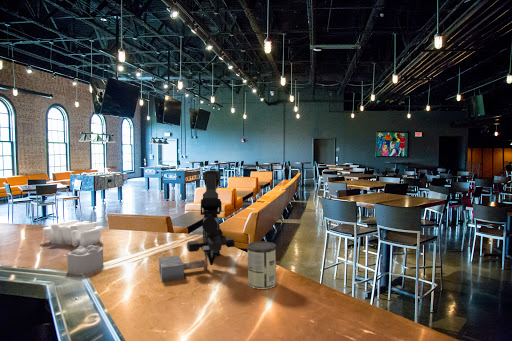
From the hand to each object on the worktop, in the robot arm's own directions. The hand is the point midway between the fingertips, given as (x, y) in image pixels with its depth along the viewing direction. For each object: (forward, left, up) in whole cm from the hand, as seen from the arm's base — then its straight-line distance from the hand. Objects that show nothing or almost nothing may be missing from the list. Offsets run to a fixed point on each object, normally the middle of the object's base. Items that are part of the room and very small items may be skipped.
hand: (211, 265), depth 128 cm
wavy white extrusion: (+58, -67, -2) cm, 89 cm away
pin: (+9, 0, -2) cm, 9 cm away
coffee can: (-13, +22, -2) cm, 26 cm away
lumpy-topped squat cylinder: (+47, -21, -2) cm, 51 cm away
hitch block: (+16, 0, -2) cm, 16 cm away
